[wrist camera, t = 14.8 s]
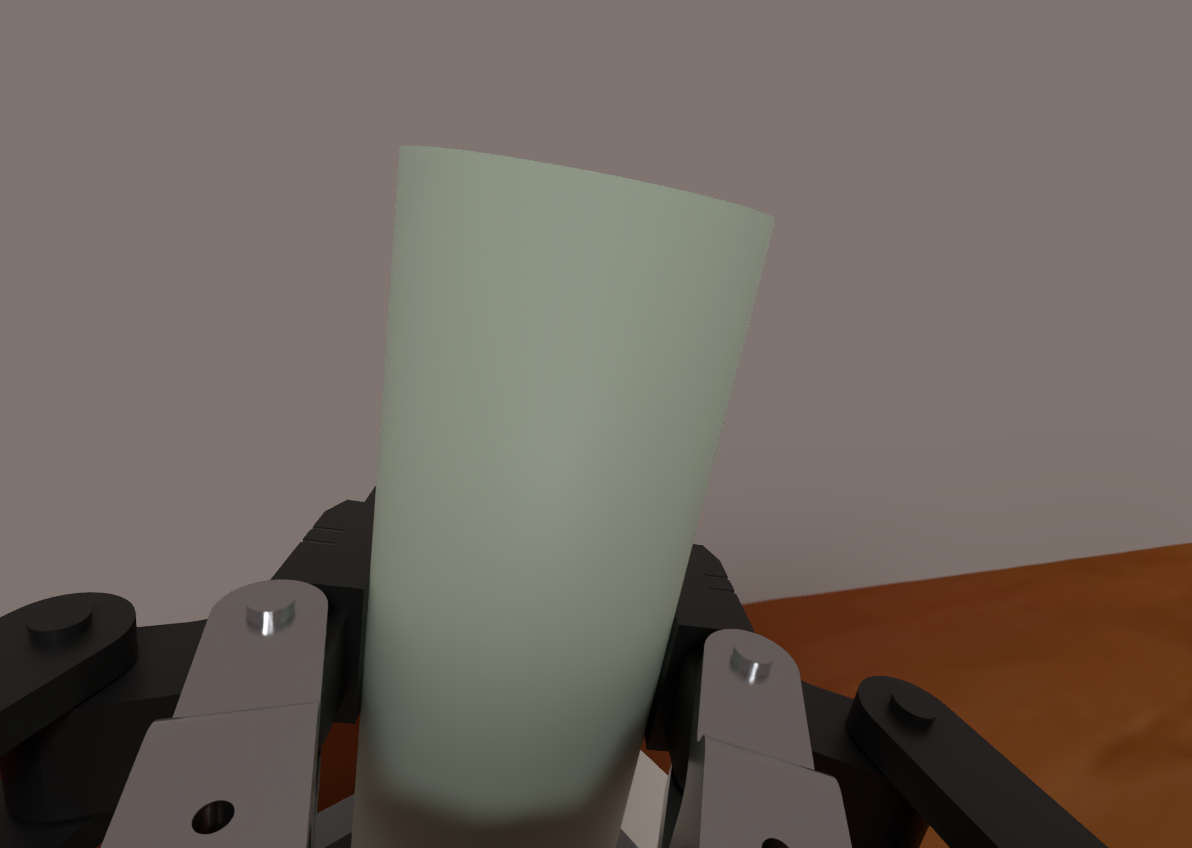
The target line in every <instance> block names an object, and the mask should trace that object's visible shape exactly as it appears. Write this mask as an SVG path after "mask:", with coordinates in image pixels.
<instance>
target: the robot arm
mask: <svg viewBox="0 0 1192 848" xmlns="http://www.w3.org/2000/svg"><path fill="white" fill-rule="evenodd" d="M375 495H376V486H375V487H374V489H373V491H372V492H371V493H370V495H369V496H368V498H367V499H366V501H365V502H359V501H351V500H346V501H344V502H342V503H340V504H338V505H336V506H334V507H333V508H331V509H329V510H327V511H325V512H324V513H323V515H322V516H321V517H320V518H319V520H318V521H317V522H316V523H315V525H314V526H313V529H311V530H310V531H309V532H308V533H307V535H306V536H305V537H304V539H303V542H300V544H299V545H298V546H297V547H296V548H295V550H294V551H293V552H292V553H291V555H290V556H289V557H288V558H287V560H286V561H285V562H284V563H283V565H282V566H281V567H280V568H279V570H278V571H277V572H276V573H275V575H274V576H273V577H272V579H271V580H268V581H262V582H257V583H253V584H249V585H246V586H244V587H241V588H239V589H236V590H234V591H232V592H230V593H229V594H227V595H226V596H224V597H223V598H222V599H220V600H219V601H218V602H217V603H216V604H215V606H214V607H213V608H212V610H211V612H210V615H209V617H208V619H205V620H201V621H194V622H187V623H176V624H166V625H157V626H156V625H155V626H145V627H137V626H136V613H135V609H134V607H133V605H132V604H131V603H130V602H129V601H128V600H126V599H124V598H122V597H120V596H116V595H112V594H106V593H93V592H92V593H91V592H88V593H74V594H67V595H62V596H56V597H52V598H48V599H44V600H41V601H37V602H35V603H32V604H29V605H26V606H24V607H22V608H19V609H17V610H15V611H13V612H11V613H8V614H6V615H4V616H2V617H0V773H1V780H0V848H96V847H97V846H98V845H100V844H101V843H102V842H103V843H102V845H101V848H315V835H316V821H317V808H318V794H319V780H320V766H321V747H322V745H323V743H324V741H325V739H326V737H327V735H328V732H329V730H330V728H331V726H332V723H333V722H340V723H352V724H355V723H356V720H357V718H358V715H359V713H360V710H361V698H362V684H363V670H364V655H365V641H366V627H367V612H368V598H369V584H370V567H371V553H372V538H373V524H374V510H375ZM727 578H728V577H727V575H726V572H725V570H724V568H723V566H722V564H721V562H720V561H719V560H718V559H717V558H716V557H715V556H714V555H713V554H712V553H711V552H709V551H708V550H707V549H706V548H705V547H704V546H703V545H695V544H693V545H692V549H691V553H690V557H689V561H688V565H687V569H686V573H685V577H684V581H683V584H682V588H681V592H680V596H679V600H678V604H677V608H676V612H675V616H674V620H673V624H672V628H671V632H670V636H669V640H668V644H667V647H666V651H665V655H664V659H663V663H662V667H661V671H660V675H659V679H658V683H657V687H656V691H655V695H654V699H653V703H652V706H651V710H650V714H649V718H648V722H647V726H646V730H645V734H644V736H645V741H646V747H647V750H659V751H669V753H670V758H671V762H672V764H671V768H670V771H669V775H668V779H667V782H666V786H665V793H664V800H663V808H662V816H661V823H660V831H659V838H658V846H657V848H919V847H920V844H921V842H922V840H923V838H924V836H925V834H926V831H927V829H928V827H929V825H930V826H931V827H932V828H933V829H934V830H935V832H936V833H937V834H938V835H939V836H940V837H941V838H942V839H943V840H944V841H945V843H946V844H947V845H948V846H949V847H950V848H1108V847H1107V846H1106V845H1105V844H1103V843H1102V842H1101V841H1100V840H1099V839H1098V838H1097V837H1095V836H1094V835H1093V834H1092V833H1091V832H1090V831H1089V830H1087V829H1086V828H1085V827H1084V826H1083V825H1082V824H1081V823H1080V822H1078V821H1077V820H1076V819H1075V818H1074V817H1073V816H1072V815H1070V814H1069V813H1068V812H1067V811H1066V810H1065V809H1064V808H1062V807H1061V806H1060V805H1059V804H1058V803H1057V802H1056V801H1054V800H1053V799H1052V798H1051V797H1050V796H1049V795H1048V794H1046V793H1045V792H1044V791H1043V790H1042V789H1041V788H1040V787H1038V786H1037V785H1036V784H1035V783H1034V782H1033V781H1032V780H1030V779H1029V778H1028V777H1027V776H1026V775H1025V774H1024V773H1022V772H1021V771H1020V770H1019V769H1018V768H1017V767H1016V766H1014V765H1013V764H1012V763H1011V762H1010V761H1009V760H1008V759H1006V758H1005V757H1004V756H1003V755H1002V754H1001V753H1000V752H998V751H997V750H996V749H995V748H994V747H993V746H992V745H990V744H989V743H988V742H987V741H986V740H985V739H984V738H982V737H981V736H980V735H979V734H978V733H977V732H976V731H974V730H973V729H972V728H971V727H970V726H969V725H968V724H966V723H965V722H964V721H963V720H962V719H961V718H960V717H958V716H957V715H956V714H955V713H954V712H953V711H952V710H950V709H949V708H948V707H947V706H946V705H945V704H943V703H942V702H941V701H940V700H938V699H937V698H936V697H934V696H933V695H931V694H930V693H928V692H926V691H925V690H923V689H921V688H919V687H917V686H915V685H913V684H911V683H908V682H906V681H903V680H900V679H896V678H892V677H887V676H872V677H869V678H866V679H865V680H863V681H862V682H861V683H860V685H859V688H858V690H857V693H856V696H855V698H854V699H852V698H849V697H846V696H843V695H839V694H836V693H833V692H830V691H827V690H824V689H821V688H818V687H816V686H813V685H810V684H808V683H805V682H803V681H801V679H800V673H799V670H798V667H797V665H796V663H795V662H794V660H793V659H792V658H791V656H790V655H789V654H788V653H787V652H786V651H785V650H783V649H782V648H781V647H780V646H778V645H777V644H776V643H774V642H772V641H771V640H769V639H767V638H765V637H763V636H761V635H758V634H755V632H754V630H753V628H752V626H751V624H750V622H749V620H748V618H747V615H746V613H745V611H744V609H743V607H742V605H741V603H740V601H739V599H738V597H737V595H736V594H734V589H733V587H732V585H731V583H730V581H729V580H728V579H727Z"/></svg>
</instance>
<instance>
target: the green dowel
mask: <svg viewBox="0 0 1192 848" xmlns="http://www.w3.org/2000/svg"><path fill="white" fill-rule="evenodd" d="M774 222H775V219H774V218H773V217H772V216H770V215H768V214H765V213H763V212H760V211H757V210H754V209H751V208H748V207H745V206H741V205H737V204H734V203H730V202H727V201H723V200H719V199H715V198H711V197H708V196H704V195H700V194H695V193H691V192H687V191H683V190H678V189H674V188H669V187H665V186H661V185H656V184H652V183H647V182H642V181H637V180H632V179H628V178H623V177H618V176H613V175H608V174H603V173H598V172H593V171H587V170H582V169H577V168H571V167H566V166H560V165H555V164H549V163H544V162H538V161H532V160H525V159H520V158H514V157H507V156H500V155H494V154H487V153H480V152H473V151H466V150H458V149H449V148H439V147H428V146H402V147H400V151H399V165H398V180H397V194H396V208H395V222H394V237H393V252H392V266H391V280H390V296H389V310H388V323H387V337H386V352H385V367H384V381H383V396H382V410H381V423H380V438H379V453H378V467H377V481H376V495H375V510H374V524H373V538H372V553H371V567H370V584H369V598H368V612H367V627H366V641H365V655H364V670H363V684H362V698H361V711H360V725H359V739H358V754H357V768H356V782H355V797H354V811H353V825H352V840H351V848H616V844H617V840H618V836H619V832H620V828H621V825H622V821H623V817H624V813H625V809H626V805H627V801H628V797H629V793H630V789H631V785H632V781H633V777H634V773H635V769H636V766H637V762H638V758H639V754H640V750H641V746H642V742H643V738H644V734H645V730H646V726H647V722H648V718H649V714H650V710H651V706H652V703H653V699H654V695H655V691H656V687H657V683H658V679H659V675H660V671H661V667H662V663H663V659H664V655H665V651H666V647H667V644H668V640H669V636H670V632H671V628H672V624H673V620H674V616H675V612H676V608H677V604H678V600H679V596H680V592H681V588H682V584H683V581H684V577H685V573H686V569H687V565H688V561H689V557H690V553H691V549H692V545H693V541H694V537H695V533H696V529H697V525H698V522H699V517H700V513H701V510H702V506H703V502H704V498H705V494H706V490H707V486H708V482H709V478H710V474H711V470H712V466H713V462H714V459H715V455H716V450H717V447H718V443H719V439H720V435H721V431H722V427H723V423H724V419H725V415H726V411H727V407H728V403H729V399H730V396H731V392H732V387H733V383H734V380H735V376H736V372H737V368H738V364H739V360H740V356H741V352H742V348H743V344H744V340H745V336H746V333H747V329H748V325H749V321H750V317H751V313H752V309H753V305H754V301H755V297H756V293H757V289H758V285H759V281H760V278H761V273H762V270H763V266H764V262H765V258H766V254H767V250H768V246H769V242H770V238H771V234H772V230H773V226H774Z"/></svg>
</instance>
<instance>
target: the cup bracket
mask: <svg viewBox="0 0 1192 848" xmlns="http://www.w3.org/2000/svg"><path fill="white" fill-rule="evenodd" d="M667 779H668V775H666V774H665V773H664V772H663V771H662V770H661V769H660V768H659V767H658V766H657V765H656V764H655V763H654V762H653V761H652V760H651V759H650V758H649V757H648V756H646V755H645V754H644V753H643V752H642V751H641V750H640V754H639V758H638V762H637V766H636V769H635V773H634V777H633V781H632V785H631V789H630V793H629V797H628V801H627V805H626V809H625V813H624V817H623V821H622V825H621V828H620V832H619V836H618V840H617V844H616V848H657V846H658V838H659V831H660V823H661V816H662V808H663V800H664V793H665V786H666V782H667ZM354 797H355V794H354V795H352V796H350V797H348V798H346V799H344V800H342V801H341V802H339V803H337V804H335V805H333V806H331V807H329V808H327V809H325V810H324V811H322V812H320V813H318V814H317V821H316V835H315V848H351V840H352V825H353V811H354Z"/></svg>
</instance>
